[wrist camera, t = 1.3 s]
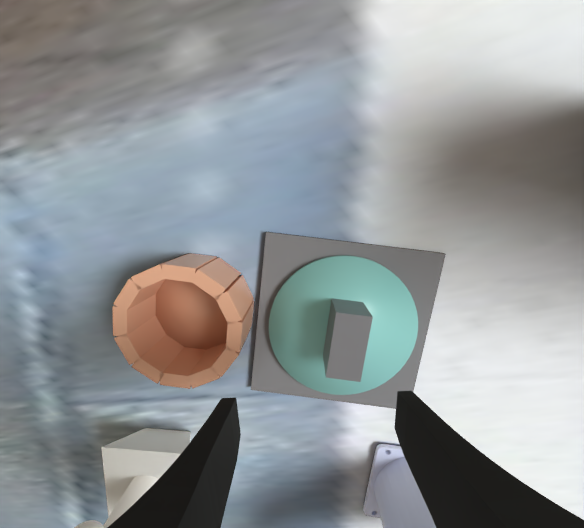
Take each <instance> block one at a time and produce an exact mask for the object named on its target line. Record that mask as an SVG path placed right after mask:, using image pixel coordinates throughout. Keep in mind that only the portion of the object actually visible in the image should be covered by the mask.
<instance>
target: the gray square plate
mask: <svg viewBox="0 0 584 528" xmlns="http://www.w3.org/2000/svg"><path fill="white" fill-rule="evenodd" d="M338 255H350V256H358V257H363V258H366V259H369V260H372V261H374V262H376V263H378V264H381V265H382V266H384V267H385V268H387V269H388V270H390V271H391V272H392V273H394V274H395V275H396V276H397V277H398V278H399V279H400V280H401V281H402V282H403V283H404V285H405V286H406V287H407V289H408V291H409V292H410V294H411V296H412V298H413V300H414V303H415V306H416V310H417V315H418V333H417V339H416V343H415V346H414V349H413V351H412V353H411V355H410V357H409V359H408V360H407V362H406V363H405V365H404V366H403V367H402V368H401V369H400V371H399V372H398V373H396V374H395V375H394V376H393V377H392V378H391V379H389V380H388V381H387V382H385V383H383V384H382V385H380V386H378V387H376V388H374V389H371V390H369V391H365V392H362V393H357V394H351V395H334V394H327V393H322V392H319V391H316V390H313V389H311V388H309V387H306V386H305V385H303V384H301V383H300V382H298V381H297V380H295V379H294V378H293V377H292V376H290V375H289V374H288V372H287V371H286V370H285V369H284V368H283V367H282V365H281V364H280V363H279V361H278V359H277V358H276V356H275V354H274V351H273V349H272V346H271V342H270V337H269V317H270V312H271V308H272V305H273V302H274V299H275V297H276V295H277V293H278V291H279V290H280V288H281V287H282V285H283V284H284V283H285V282H286V281H287V279H288V278H289V277H290V276H291V275H293V274H294V273H295V272H296V271H297V270H299V269H300V268H302V267H303V266H305V265H307V264H309V263H311V262H313V261H315V260H318V259H321V258H325V257H330V256H338ZM444 258H445V254H444V253H439V252H430V251H422V250H414V249H405V248H397V247H389V246H381V245H372V244H364V243H356V242H347V241H339V240H331V239H323V238H314V237H306V236H298V235H289V234H281V233H273V232H266V238H265V248H264V258H263V269H262V279H261V289H260V300H259V310H258V320H257V331H256V341H255V352H254V362H253V372H252V383H251V390H257V391H264V392H272V393H280V394H287V395H295V396H303V397H310V398H318V399H326V400H333V401H341V402H349V403H356V404H364V405H372V406H379V407H387V408H395V409H396V404H397V391H412V392H413V390H414V386H415V382H416V377H417V373H418V369H419V365H420V360H421V356H422V352H423V348H424V343H425V339H426V335H427V331H428V326H429V322H430V318H431V314H432V309H433V305H434V301H435V297H436V292H437V288H438V284H439V280H440V275H441V271H442V267H443V263H444Z"/></svg>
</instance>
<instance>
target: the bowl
mask: <svg viewBox="0 0 584 528" xmlns="http://www.w3.org/2000/svg"><path fill="white" fill-rule="evenodd" d="M240 274H241V273H240V272H239V271H237V270H236V269H235V268H233V267H232V266H230V265H229V264H228V263H226V262H225V261H223V260H222V259H221V258H217V256H209V255H201V254H192V253H190V254H186V255H183V256H180V257H178V258H175V259H172V260H170V261H167V262H165V263H162V264H159V265H157V266H155V267H153V268H150V269H148V270H146V271H143V272H141V273H139V274H137V275H134V276H132V277H131V278H130V279H128V281H127V283H126V284H125V286H124V287H123V289H122V291H121V292H120V294H119V295H118V297H117V298H116V300H115V302H114V303H113V304H114V306H113V336H117V337H115V338H114V339H115V341H116V343H117V345H118V346H119V348H120V350H121V351H122V353H123V355H124V356H125V358H126V360H127V361H128V363H129V365H130V364H133V363H134V364H133V365H132V368H134V369H136V370H137V371H139V372H140V373H142V374H143V375H145V376H146V377H148V378H149V379H151V380H152V381H154V382H155V383H157V384H158V382H159V381H160V385H166V386H173V387H181V388H188V389H190V388H191V386H192V388H195V387H198V386H200V385H203V384H206V383H208V382H211V381H214V380H216V379H219V378H220V376H221V377H222V376H223V374H224V373H225V372H226V371H227V369H228V368H229V367H230V365H231V364H232V363H233V362H234V360H235V359H236V358H237V356H238V355H239V353H240V351H241V349H242V347H243V344H244V342H245V340H246V338H247V335H248V333H249V331H250V329H251V326H252V319H253V309H254V301H253V299H254V298H253V296H252V294H251V292H250V289H249V287H248V285H247V283H246V281H245V279H244V277H243V275H242V276H239V275H240Z"/></svg>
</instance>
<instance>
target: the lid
mask: <svg viewBox="0 0 584 528" xmlns="http://www.w3.org/2000/svg"><path fill="white" fill-rule="evenodd" d="M417 333H418V315H417V310H416V306H415V303H414V300H413V298H412V296H411V294H410V292H409V291H408V289H407V287H406V286H405V285H404V283H403V282H402V281H401V280H400V279H399V278H398V277H397V276H396V275H395V274H394V273H392V272H391V271H390V270H388V269H387V268H385V267H384V266H382V265H381V264H378V263H376V262H374V261H372V260H369V259H366V258H363V257H358V256H350V255H338V256H330V257H325V258H321V259H318V260H315V261H313V262H311V263H309V264H307V265H305V266H303V267H302V268H300V269H299V270H297V271H296V272H295V273H294V274H293V275H291V276H290V277H289V278H288V279H287V281H286V282H285V283H284V284H283V285H282V287H281V288H280V290H279V291H278V293H277V295H276V297H275V299H274V302H273V305H272V308H271V312H270V317H269V337H270V342H271V346H272V349H273V351H274V354H275V356H276V358H277V359H278V361H279V363H280V364H281V365H282V367H283V368H284V369H285V370H286V371H287V372H288V374H289V375H290V376H292V377H293V378H294V379H295V380H297V381H298V382H300V383H301V384H303V385H305V386H306V387H309V388H311V389H313V390H316V391H319V392H322V393H327V394H334V395H351V394H357V393H362V392H365V391H369V390H371V389H374V388H376V387H378V386H380V385H382V384H383V383H385V382H387V381H388V380H389V379H391V378H392V377H393V376H394V375H395V374H396V373H398V372H399V371H400V369H401V368H402V367H403V366H404V365H405V363H406V362H407V360H408V359H409V357H410V355H411V353H412V351H413V349H414V346H415V343H416V339H417Z"/></svg>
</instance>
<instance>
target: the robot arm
mask: <svg viewBox="0 0 584 528" xmlns="http://www.w3.org/2000/svg"><path fill="white" fill-rule="evenodd" d="M395 430H396V434H397V437H398V440H399V443H400V446H395V445H387V444H379V445H377V447H376V450H375V455H374V460H373V464H372V469H371V474H370V479H369V483H368V488H367V493H366V497H365V502H364V507H363V510H364V514H365V515H367V516H372V517H379V518H381V521H382V525H383V528H584V520H583V519H581V518H579V517H577V516H576V515H574V514H572V513H571V512H569V511H567V510H565V509H564V508H562V507H560V506H559V505H557V504H555V503H554V502H552V501H551V500H549V499H547V498H546V497H544V496H543V495H541V494H539V493H538V492H536V491H535V490H533V489H532V488H530V487H529V486H527V485H526V484H524V483H523V482H521V481H520V480H518V479H517V478H515V477H514V476H512V475H511V474H509V473H508V472H507V471H505V470H504V469H503V468H501V467H500V466H498V465H497V464H496V463H494V462H493V461H492V460H490V459H489V458H488V457H486V456H485V455H484V454H482V453H481V452H480V451H479V450H477V449H476V448H475V447H474V446H472V445H471V444H470V443H469V442H468V441H466V440H465V439H464V438H463V437H461V436H460V435H459V434H458V433H457V432H456V431H454V430H453V429H452V428H451V427H450V426H449V425H448V424H447V423H445V422H444V421H443V420H442V419H441V418H440V417H439V416H438V415H437V414H436V413H435V412H433V411H432V410H431V409H430V408H429V407H428V406H427V405H426V404H425V403H424V402H423V401H422V400H421V399H420V398H419V397H417V396H416V395H415V394H414V393H413V392H412V391H397V404H396V418H395ZM239 441H240V426H239V418H238V410H237V402H236V398H222V399H221V400H220V402H219V403H218V405H217V406H216V408H215V409H214V411H213V412H212V413H211V415H210V416H209V418H208V419H207V421H206V422H205V423H204V425H203V426H202V427H201V429H200V430H199V431H198V433H197V434H196V435H195V437H194V438H193V439H192V441H191V442H190V443H189V445H188V446H187V447H186V448H185V449H184V451H183V452H182V453H181V454H180V456H179V457H178V458H177V459H176V460H175V462H174V463H173V464H172V465H171V466H170V467H169V468H168V469H167V471H166V472H165V473H164V474H163V475H162V476H161V477H160V478H159V479H158V480H157V481H156V482H155V483H154V484H153V486H152V487H151V488H150V489H149V490H148V491H146V492H145V493H144V494H143V495H142V496H141V497H140V498H139V499H138V500H137V501H136V502H135V503H134V504H133V505H132V506H131V507H130V508H129V509H128V510H127V511H126V512H125V513H124V514H122V515H121V516H120V517H119V518H118V519H117V520H115V521H114V522H113V523H112V524H111V525H110V526H109V527H107V528H220V527H221V523H222V519H223V515H224V510H225V506H226V502H227V498H228V494H229V490H230V486H231V482H232V478H233V474H234V470H235V466H236V461H237V455H238V449H239ZM386 450H388V451H386Z"/></svg>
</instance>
